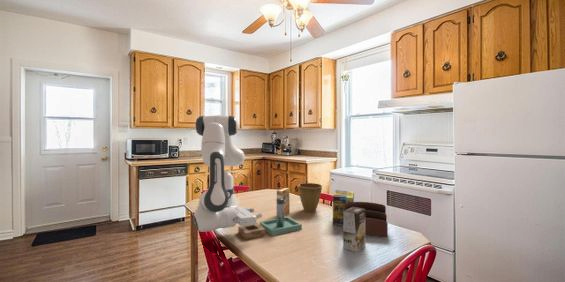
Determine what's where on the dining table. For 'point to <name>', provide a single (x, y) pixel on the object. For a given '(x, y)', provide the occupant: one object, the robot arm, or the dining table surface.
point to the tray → (272, 227)
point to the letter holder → (373, 218)
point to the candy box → (284, 194)
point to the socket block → (251, 231)
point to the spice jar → (280, 212)
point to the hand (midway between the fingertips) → (257, 212)
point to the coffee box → (354, 228)
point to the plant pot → (310, 195)
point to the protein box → (340, 205)
